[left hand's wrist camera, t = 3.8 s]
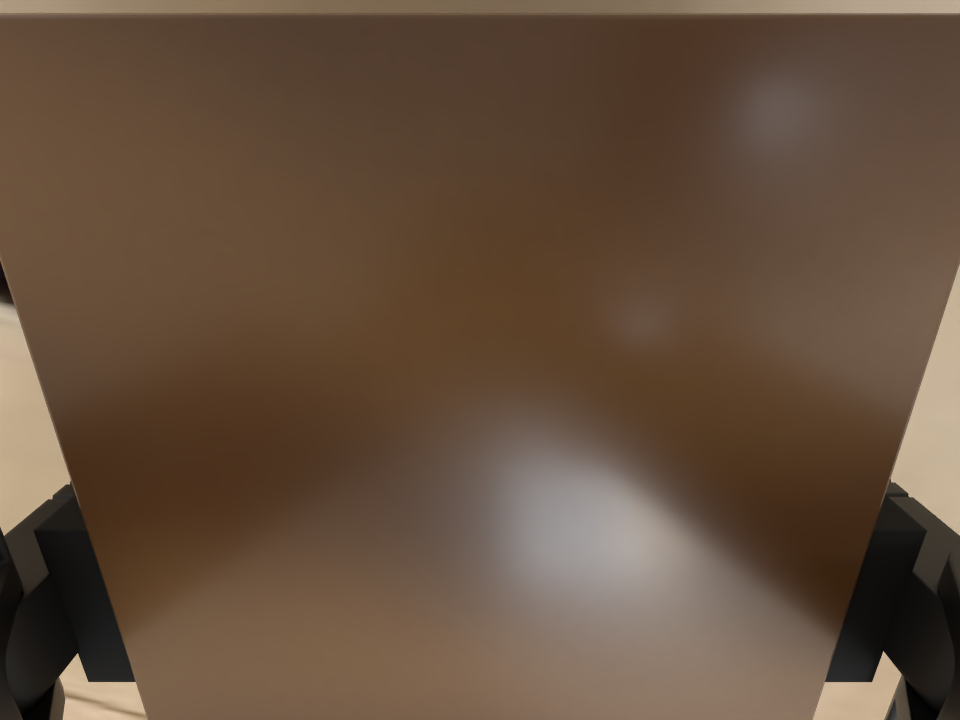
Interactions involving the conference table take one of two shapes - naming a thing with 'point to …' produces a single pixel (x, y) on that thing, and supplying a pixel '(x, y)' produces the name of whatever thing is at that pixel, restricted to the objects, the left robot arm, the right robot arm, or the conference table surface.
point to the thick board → (480, 344)
